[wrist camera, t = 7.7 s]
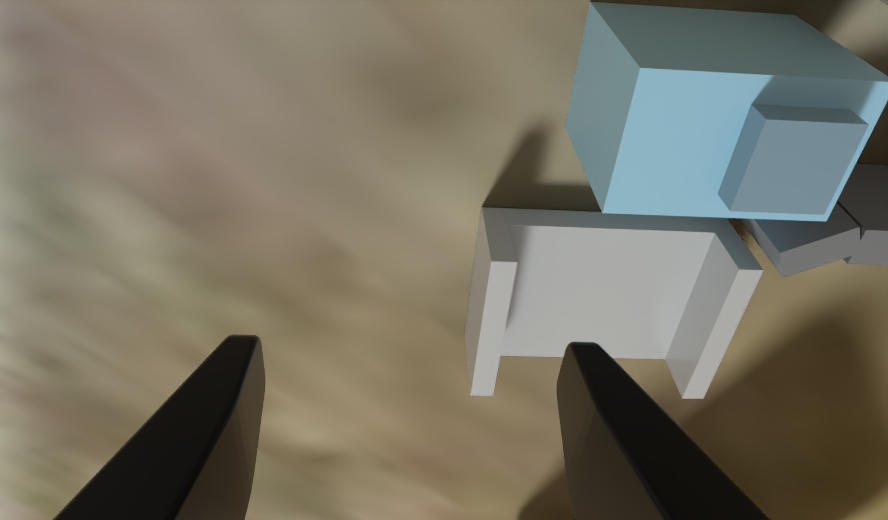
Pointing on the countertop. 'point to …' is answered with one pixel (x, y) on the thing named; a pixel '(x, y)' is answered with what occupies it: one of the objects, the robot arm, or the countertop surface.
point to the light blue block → (718, 113)
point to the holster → (606, 290)
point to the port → (833, 227)
